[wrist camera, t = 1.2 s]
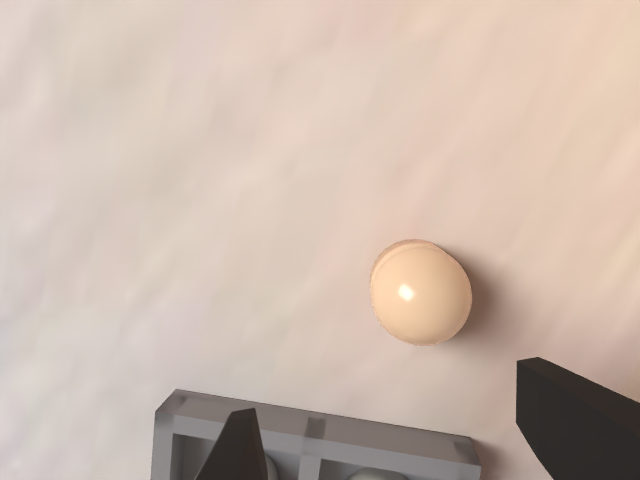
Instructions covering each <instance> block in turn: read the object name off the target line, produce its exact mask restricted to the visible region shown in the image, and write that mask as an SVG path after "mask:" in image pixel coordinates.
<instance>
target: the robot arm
mask: <svg viewBox="0 0 640 480" xmlns="http://www.w3.org/2000/svg"><path fill="white" fill-rule="evenodd" d="M516 423H517V425H518V427H519V428H520V430H521V432H522V434H523V435H524V437H525V439H526V440H527V442H528V444H529V445H530V447H531V449H532V450H533V452H534V453H535V455H536V457H537V458H538V459H539V461H540V462H541V463H542V465H543V466H544V467H545V469H546V470H547V471H548V473H549V474H550V475H551V477H552V478H553V479H554V480H640V403H638V402H636V401H634V400H632V399H629V398H627V397H625V396H623V395H620V394H618V393H616V392H614V391H612V390H609V389H607V388H605V387H603V386H601V385H599V384H597V383H594V382H592V381H590V380H588V379H586V378H584V377H582V376H580V375H577V374H575V373H573V372H571V371H569V370H567V369H565V368H562V367H560V366H558V365H556V364H554V363H551V362H549V361H547V360H544V359H542V358H539V357H535V358H530V359H524V360H519V361H517V392H516ZM195 480H268V469H267V464H266V459H265V454H264V449H263V444H262V439H261V434H260V429H259V424H258V419H257V414H256V409H255V408H249V409H244V410H238V411H233V412H231V414H230V415H229V416H228V418H227V420H226V422H225V425H224V427H223V429H222V431H221V433H220V435H219V437H218V439H217V441H216V442H215V444H214V446H213V448H212V450H211V452H210V454H209V455H208V457H207V459H206V461H205V462H204V464H203V466H202V468H201V469H200V471H199V473H198V475H197V476H196V478H195Z"/></svg>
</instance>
